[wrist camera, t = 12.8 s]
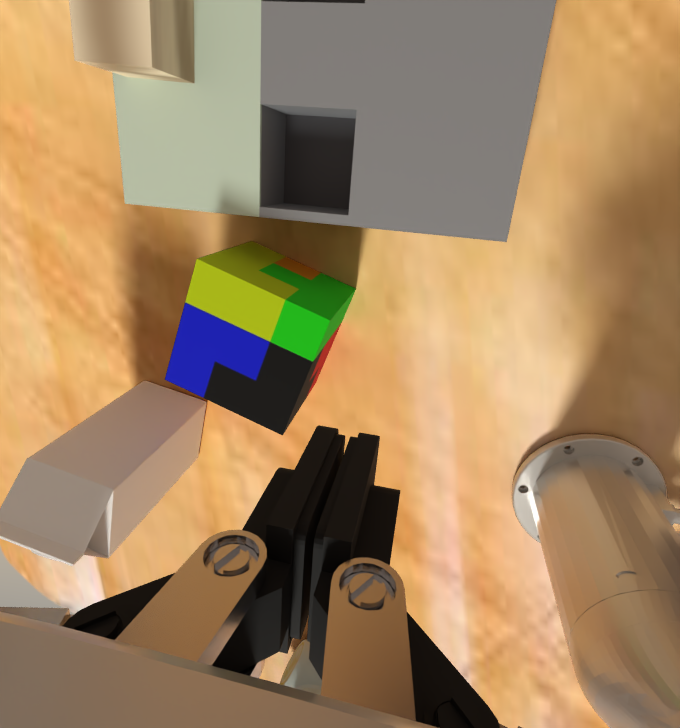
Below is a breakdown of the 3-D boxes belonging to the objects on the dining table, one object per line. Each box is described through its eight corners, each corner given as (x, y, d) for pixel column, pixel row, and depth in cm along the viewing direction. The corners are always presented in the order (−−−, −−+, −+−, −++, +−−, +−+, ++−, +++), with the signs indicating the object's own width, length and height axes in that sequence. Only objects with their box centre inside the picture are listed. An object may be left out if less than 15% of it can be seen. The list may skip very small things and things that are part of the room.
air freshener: (316, 614, 56) (291, 700, 47) (378, 647, 56) (365, 739, 47) (283, 664, 60) (254, 751, 51) (340, 695, 60) (321, 787, 51)
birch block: (193, -8, 30) (147, -42, 25) (194, 83, 31) (152, 67, 27) (121, -13, 30) (64, -47, 26) (127, 77, 32) (74, 60, 28)
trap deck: (563, -102, 29) (590, -168, 23) (497, 232, 36) (506, 241, 31) (149, -96, 33) (91, -150, 28) (167, 200, 41) (124, 203, 36)
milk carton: (144, 379, 48) (-22, 490, 31) (208, 400, 48) (73, 526, 31) (139, 435, 51) (-16, 565, 34) (199, 456, 51) (71, 600, 33)
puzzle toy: (221, 338, 45) (164, 379, 36) (252, 240, 41) (196, 258, 32) (315, 382, 45) (282, 435, 36) (356, 288, 41) (330, 320, 31)
